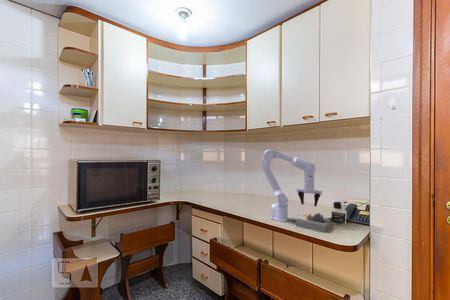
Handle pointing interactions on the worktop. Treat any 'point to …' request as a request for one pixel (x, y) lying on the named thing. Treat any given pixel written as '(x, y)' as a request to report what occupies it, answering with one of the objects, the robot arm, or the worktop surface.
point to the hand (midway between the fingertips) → (308, 205)
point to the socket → (314, 224)
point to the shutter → (304, 217)
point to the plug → (318, 218)
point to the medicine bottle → (339, 213)
